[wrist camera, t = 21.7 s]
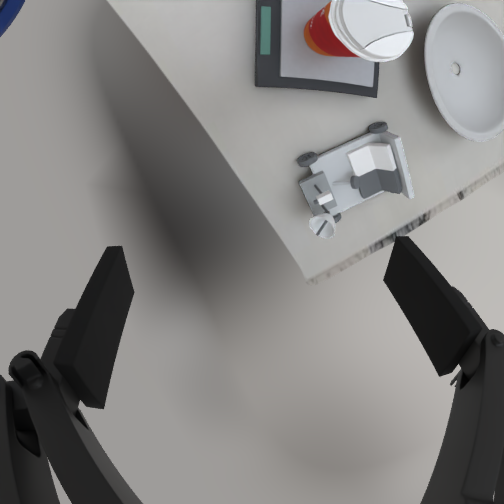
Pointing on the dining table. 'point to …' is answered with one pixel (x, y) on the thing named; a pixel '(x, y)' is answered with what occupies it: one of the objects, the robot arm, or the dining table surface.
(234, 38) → the dining table surface
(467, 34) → the white bowl
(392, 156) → the toy car
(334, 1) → the coffee cup
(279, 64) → the scale
